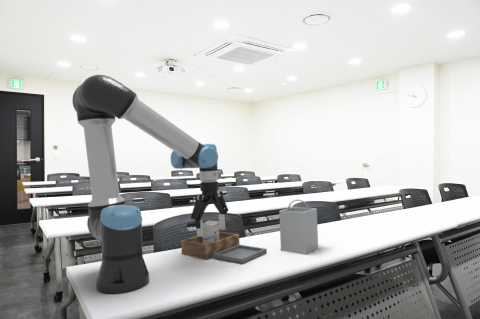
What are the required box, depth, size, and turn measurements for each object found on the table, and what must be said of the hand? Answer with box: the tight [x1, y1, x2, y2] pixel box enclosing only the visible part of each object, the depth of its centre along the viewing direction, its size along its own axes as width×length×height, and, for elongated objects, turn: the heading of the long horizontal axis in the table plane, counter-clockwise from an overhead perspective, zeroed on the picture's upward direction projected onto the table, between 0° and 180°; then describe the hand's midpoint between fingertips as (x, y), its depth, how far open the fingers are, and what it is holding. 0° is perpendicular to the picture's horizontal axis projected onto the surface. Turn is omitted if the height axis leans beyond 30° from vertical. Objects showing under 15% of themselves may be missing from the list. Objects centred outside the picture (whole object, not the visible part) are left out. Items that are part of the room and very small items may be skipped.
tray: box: [212, 244, 267, 265], centre depth 124 cm, size 16×14×2 cm
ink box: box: [203, 220, 220, 244], centre depth 133 cm, size 9×5×12 cm, turn 168°
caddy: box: [278, 206, 319, 255], centre depth 131 cm, size 11×11×16 cm
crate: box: [180, 231, 241, 260], centre depth 133 cm, size 20×14×6 cm
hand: (211, 232), depth 133 cm, fingers open, 13 cm apart
